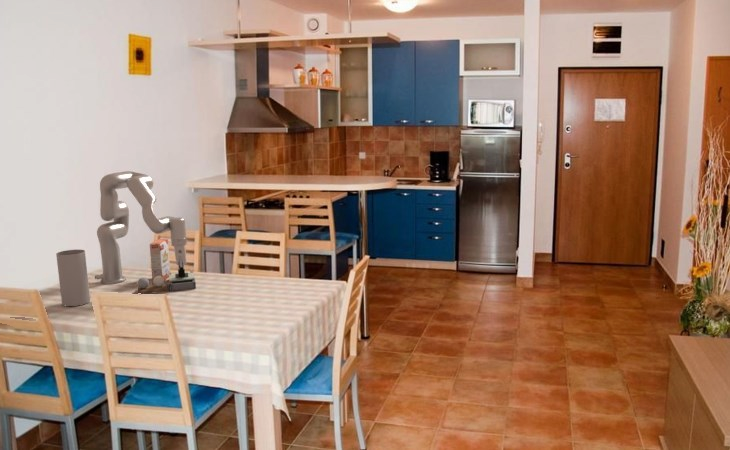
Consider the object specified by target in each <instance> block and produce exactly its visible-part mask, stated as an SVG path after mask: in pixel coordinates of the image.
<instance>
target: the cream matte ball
mask: <svg viewBox="0 0 730 450" xmlns="http://www.w3.org/2000/svg"><path fill="white" fill-rule="evenodd" d="M165 281H166V280H164V278H163V277H161V276H156V277H155V278H154V280H153V281H152V285H155V286H156V287H161V286H163V285H164V284H165Z"/></svg>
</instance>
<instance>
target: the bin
mask: <svg viewBox="0 0 730 450" xmlns="http://www.w3.org/2000/svg"><path fill="white" fill-rule="evenodd" d="M189 273H194V271H193V270H191V271H190V272H189ZM169 275H172V273H171V272H170V273H169ZM168 279H169V278H168ZM196 285H197V283H196V278H195V279H192V280H182V281H173V282H170V279H169V288H170V292H175V291H176V292H178V291H187V290H195V289H197V286H196Z"/></svg>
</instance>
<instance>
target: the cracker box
mask: <svg viewBox="0 0 730 450" xmlns="http://www.w3.org/2000/svg"><path fill="white" fill-rule="evenodd" d="M149 253H150V265H151V266H150V267H151V279H152V280H151V281H152V282H153V280H154V278H155V277H156V276H161V277H163V278H164V280H165V281H166V280H167V279H169V273H171V267H170V266H171V265H170V254H169V253H170V252H169V239H167V238H159V239H158V238H157V239H156V240H155V241H152V242H151V243H150V244H149Z"/></svg>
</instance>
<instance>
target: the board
mask: <svg viewBox="0 0 730 450" xmlns="http://www.w3.org/2000/svg"><path fill="white" fill-rule="evenodd" d="M167 291H168V287H167V283H164V285H163V286H161V287H156V286H155V285H154V284H151V285H150V284H149V286H148V287H147V288H145V289H142V288H140V287H139V286H138V285H137V291H136V292H137V294H138V293H141V294H140V295H148V294H156V293H157V294H159V293H166V292H167Z"/></svg>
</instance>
